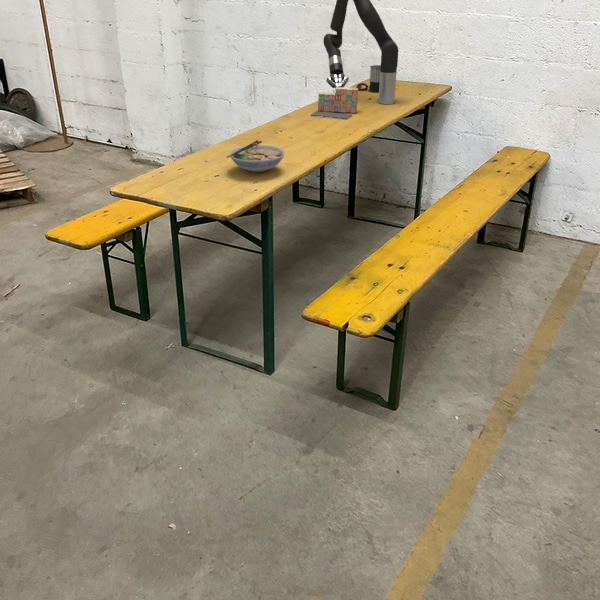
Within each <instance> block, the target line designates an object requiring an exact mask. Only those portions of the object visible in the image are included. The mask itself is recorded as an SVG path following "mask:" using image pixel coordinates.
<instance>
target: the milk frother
mask: <svg viewBox="0 0 600 600" xmlns="http://www.w3.org/2000/svg"><path fill="white" fill-rule="evenodd" d="M380 67H381V64H379V65H378V64H376V65H375V64H374V65H370V72H369V73H370V74H369V85H368V84H367V83H364V82H361V83H358V84H357V85H356V87H355V88H358V91H367V90H368V91H369V92H371V93H378V94H379V84H380ZM363 86H364V88H363Z"/></svg>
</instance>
